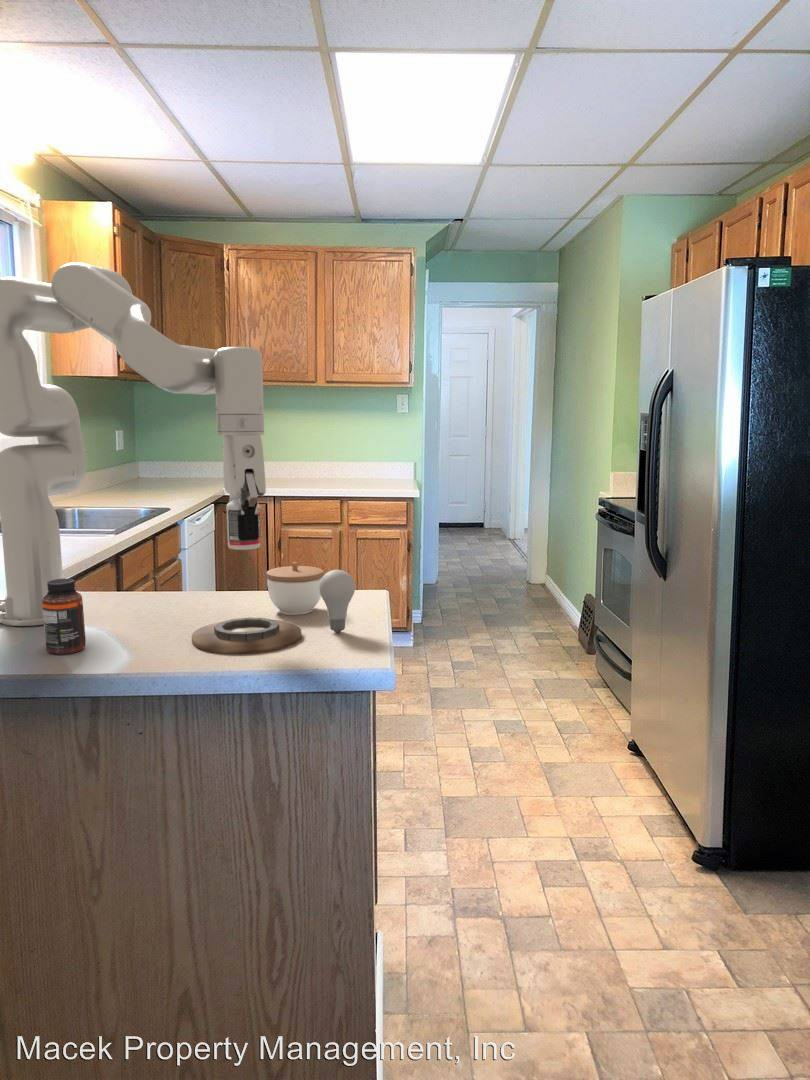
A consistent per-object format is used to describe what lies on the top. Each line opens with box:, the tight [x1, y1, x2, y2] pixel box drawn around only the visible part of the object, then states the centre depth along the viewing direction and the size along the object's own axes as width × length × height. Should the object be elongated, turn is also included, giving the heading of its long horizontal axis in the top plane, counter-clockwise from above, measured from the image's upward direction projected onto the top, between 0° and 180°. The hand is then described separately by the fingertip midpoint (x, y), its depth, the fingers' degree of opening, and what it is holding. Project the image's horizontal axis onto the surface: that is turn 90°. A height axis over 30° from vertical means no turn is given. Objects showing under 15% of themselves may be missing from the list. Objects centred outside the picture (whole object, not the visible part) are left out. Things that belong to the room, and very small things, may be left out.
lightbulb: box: [319, 569, 356, 634], centre depth 141 cm, size 6×6×11 cm
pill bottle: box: [225, 492, 262, 551], centre depth 136 cm, size 5×5×10 cm
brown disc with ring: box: [191, 617, 302, 655], centre depth 139 cm, size 18×18×2 cm
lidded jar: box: [266, 561, 325, 616], centre depth 157 cm, size 11×11×9 cm
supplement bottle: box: [42, 578, 87, 656], centre depth 131 cm, size 6×6×11 cm
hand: (244, 535), depth 136 cm, fingers closed on pill bottle, 5 cm apart
